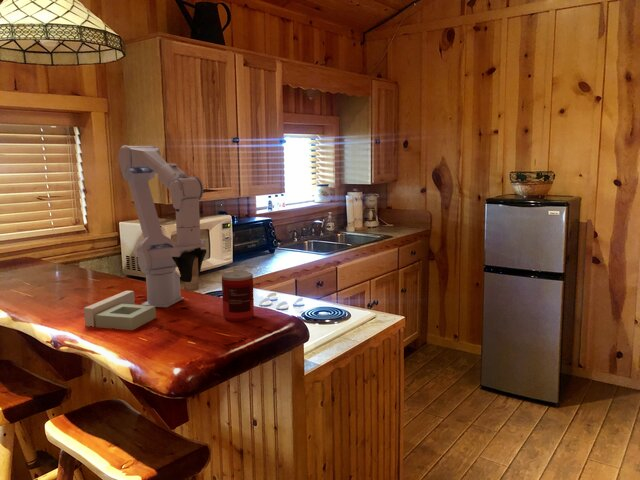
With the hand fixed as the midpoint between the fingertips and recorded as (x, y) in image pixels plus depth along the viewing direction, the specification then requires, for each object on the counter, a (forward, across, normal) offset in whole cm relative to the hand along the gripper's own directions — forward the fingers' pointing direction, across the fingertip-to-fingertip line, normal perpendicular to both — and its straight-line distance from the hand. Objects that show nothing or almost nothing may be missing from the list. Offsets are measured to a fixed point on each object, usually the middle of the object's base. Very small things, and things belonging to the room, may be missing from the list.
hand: (190, 279), depth 136 cm
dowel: (+2, 0, 0) cm, 2 cm away
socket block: (+9, -9, +13) cm, 18 cm away
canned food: (+10, +2, -12) cm, 15 cm away
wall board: (+9, -5, +20) cm, 23 cm away
